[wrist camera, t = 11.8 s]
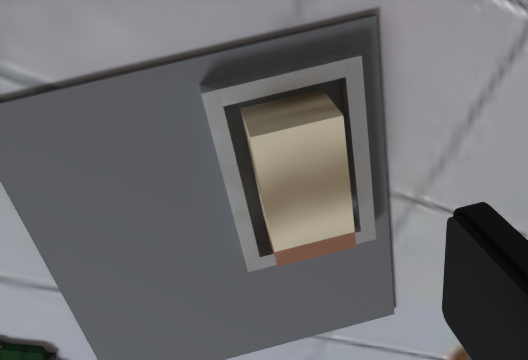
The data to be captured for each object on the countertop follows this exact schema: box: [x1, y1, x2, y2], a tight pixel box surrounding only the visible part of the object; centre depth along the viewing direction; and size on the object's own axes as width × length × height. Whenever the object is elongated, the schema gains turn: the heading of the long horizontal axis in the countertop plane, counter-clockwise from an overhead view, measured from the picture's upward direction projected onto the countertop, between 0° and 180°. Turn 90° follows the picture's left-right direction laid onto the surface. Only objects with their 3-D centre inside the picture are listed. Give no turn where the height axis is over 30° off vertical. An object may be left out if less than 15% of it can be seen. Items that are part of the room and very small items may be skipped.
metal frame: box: [199, 48, 376, 272], centre depth 31 cm, size 9×13×2 cm
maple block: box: [240, 89, 356, 267], centre depth 30 cm, size 9×5×4 cm, turn 10°
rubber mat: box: [0, 14, 394, 360], centre depth 34 cm, size 23×24×1 cm
